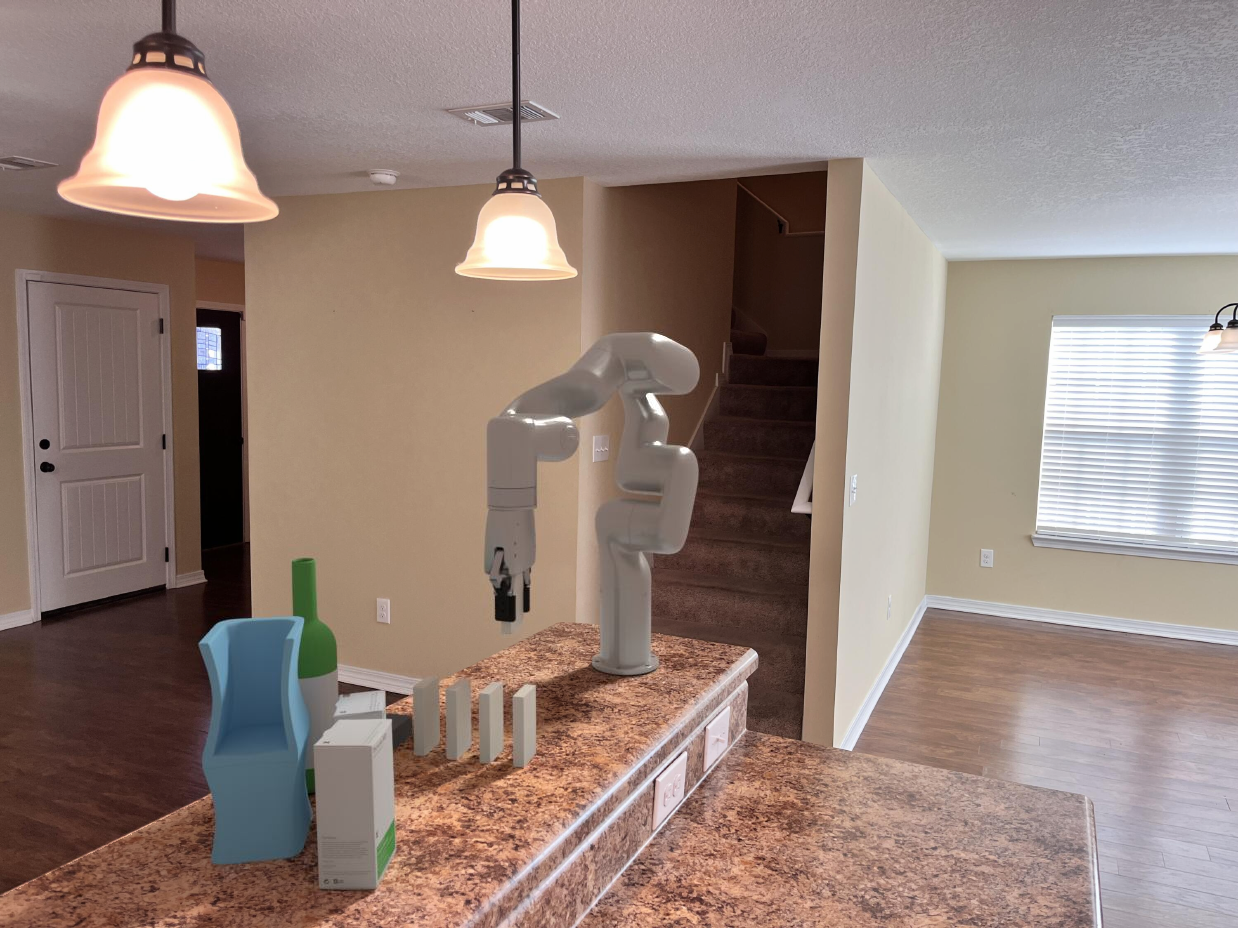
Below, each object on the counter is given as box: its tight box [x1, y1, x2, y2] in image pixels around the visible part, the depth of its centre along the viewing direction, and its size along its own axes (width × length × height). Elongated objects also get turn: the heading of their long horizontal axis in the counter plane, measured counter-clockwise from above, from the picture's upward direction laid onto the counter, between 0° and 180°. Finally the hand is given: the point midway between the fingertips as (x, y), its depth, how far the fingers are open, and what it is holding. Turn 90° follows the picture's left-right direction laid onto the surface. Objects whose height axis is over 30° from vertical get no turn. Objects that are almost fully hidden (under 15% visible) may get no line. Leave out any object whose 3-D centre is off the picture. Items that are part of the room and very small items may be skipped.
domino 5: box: [512, 683, 537, 769], centre depth 123 cm, size 2×5×10 cm, turn 166°
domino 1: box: [412, 675, 441, 757], centre depth 127 cm, size 2×5×10 cm, turn 166°
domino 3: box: [478, 680, 504, 765], centre depth 124 cm, size 2×5×10 cm, turn 166°
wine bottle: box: [291, 557, 339, 794], centre depth 115 cm, size 8×8×30 cm
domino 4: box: [500, 570, 525, 635], centre depth 134 cm, size 2×5×10 cm, turn 165°
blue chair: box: [198, 615, 314, 866], centre depth 101 cm, size 10×10×25 cm
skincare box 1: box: [333, 689, 387, 725], centre depth 106 cm, size 8×6×15 cm
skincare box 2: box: [314, 719, 397, 890], centre depth 95 cm, size 8×7×16 cm
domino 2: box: [445, 678, 472, 761], centre depth 125 cm, size 2×5×10 cm, turn 166°
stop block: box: [386, 712, 414, 752], centre depth 128 cm, size 8×4×3 cm, turn 166°
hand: (512, 614), depth 134 cm, fingers closed on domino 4, 4 cm apart
